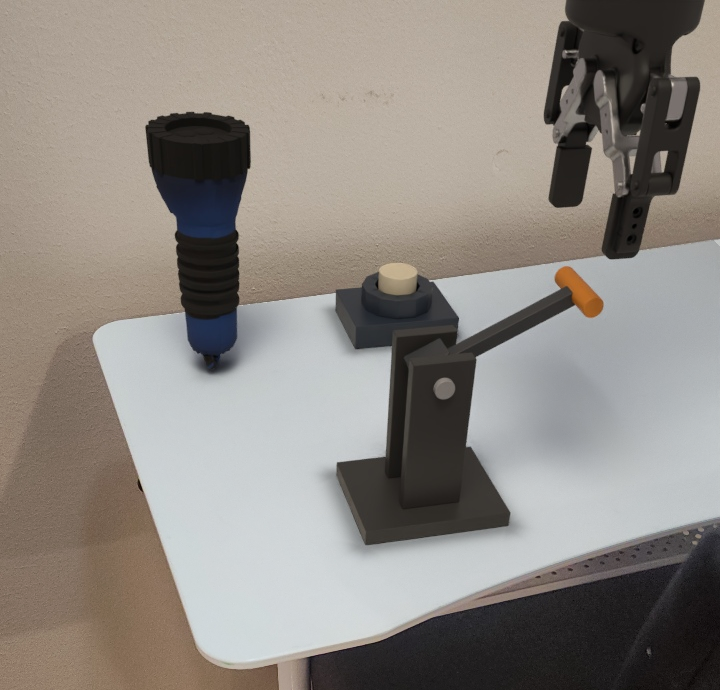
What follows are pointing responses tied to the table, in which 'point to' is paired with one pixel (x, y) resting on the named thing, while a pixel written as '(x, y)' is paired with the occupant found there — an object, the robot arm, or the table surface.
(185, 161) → the flashlight
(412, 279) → the power button
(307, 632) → the table surface
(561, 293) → the lever with orange handle
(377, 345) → the block
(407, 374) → the lever pivot stand
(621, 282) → the table surface
